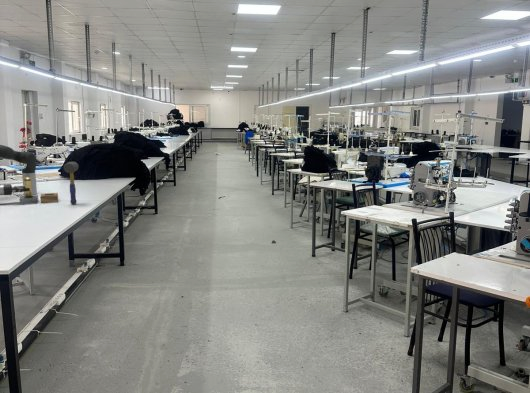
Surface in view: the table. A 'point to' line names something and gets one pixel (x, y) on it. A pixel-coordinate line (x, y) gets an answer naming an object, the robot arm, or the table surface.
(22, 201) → the socket block
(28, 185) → the brass peg
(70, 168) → the rubber mallet
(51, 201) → the block
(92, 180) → the table surface
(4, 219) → the table surface
